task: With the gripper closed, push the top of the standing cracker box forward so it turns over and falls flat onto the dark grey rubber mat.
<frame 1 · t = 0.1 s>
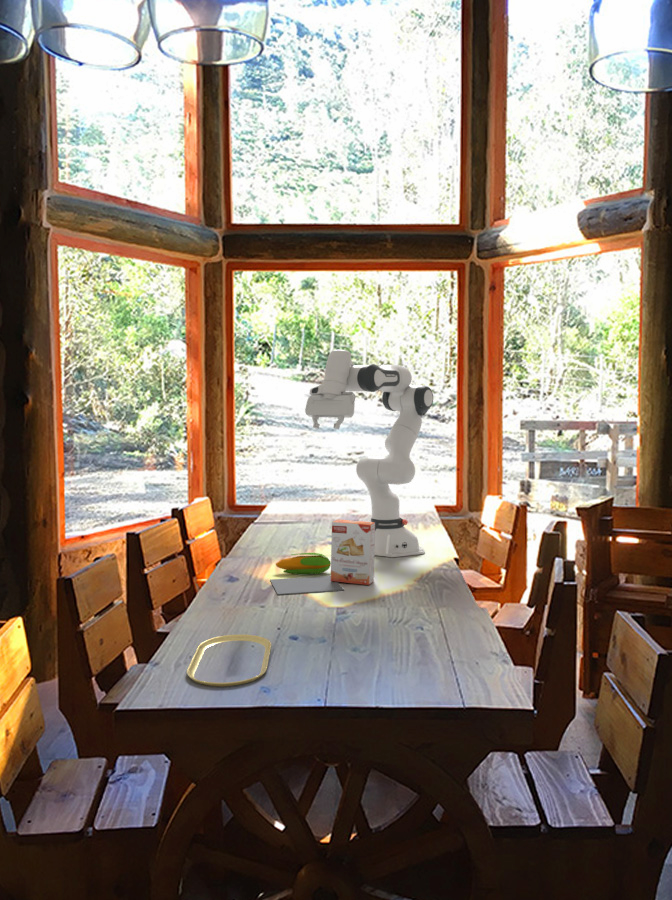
hand: (325, 428, 288), 52 cm above the table, tool tilted 20°, fingers open, 8 cm apart
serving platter: (231, 663, 197), on the table
mat: (306, 585, 270), on the table
cracker box: (352, 582, 273), on the table, touching mat
corn: (303, 574, 288), on the table
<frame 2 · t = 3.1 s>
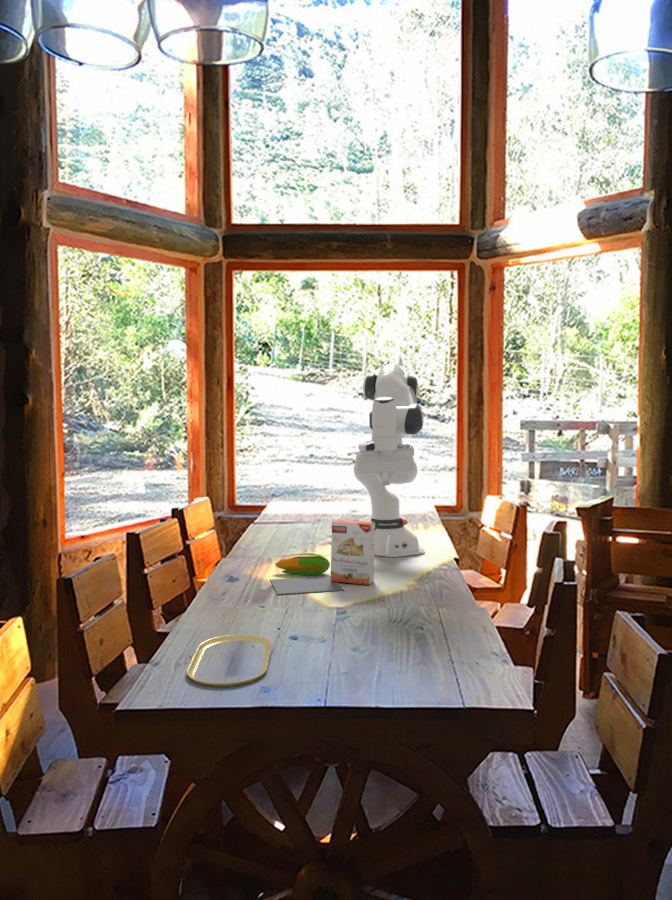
hand: (385, 485, 273), 33 cm above the table, tool pointing down, fingers closed
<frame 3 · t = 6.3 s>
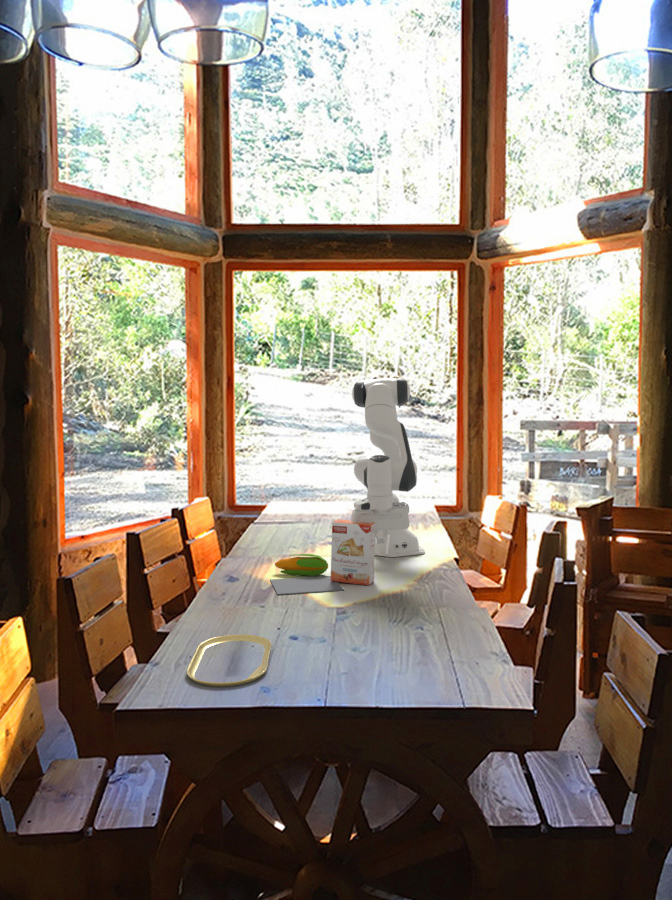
hand: (380, 543, 274), 13 cm above the table, tool pointing down, fingers closed
corn: (300, 575, 286), on the table
everything else where it was.
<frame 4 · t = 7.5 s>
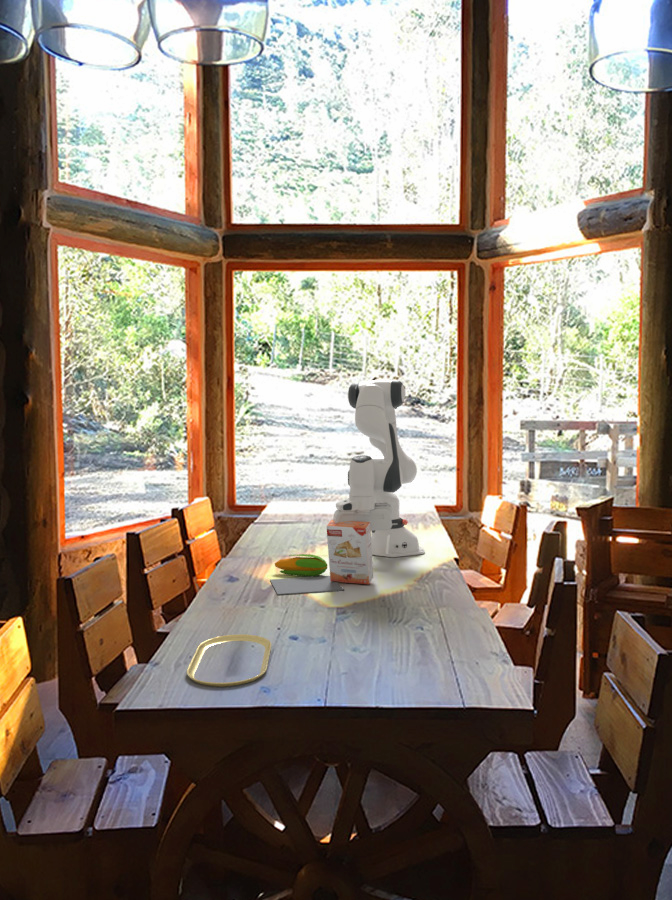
hand: (362, 543, 273), 13 cm above the table, tool pointing down, fingers closed
cracker box: (352, 580, 273), point 1 cm above the table, touching mat
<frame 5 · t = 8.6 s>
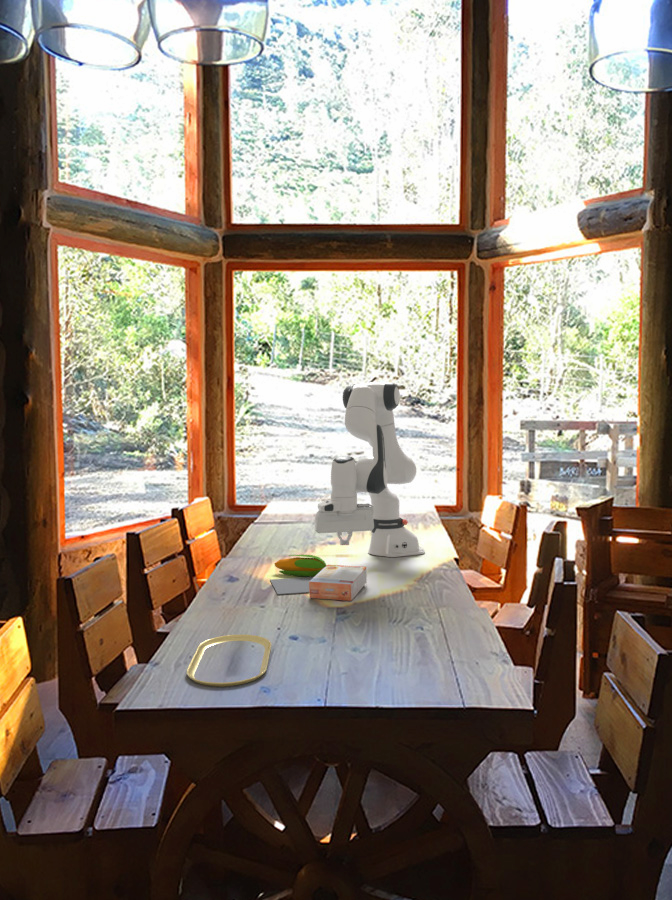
hand: (344, 544, 271), 13 cm above the table, tool pointing down, fingers closed
cracker box: (347, 573, 271), point 4 cm above the table, touching mat
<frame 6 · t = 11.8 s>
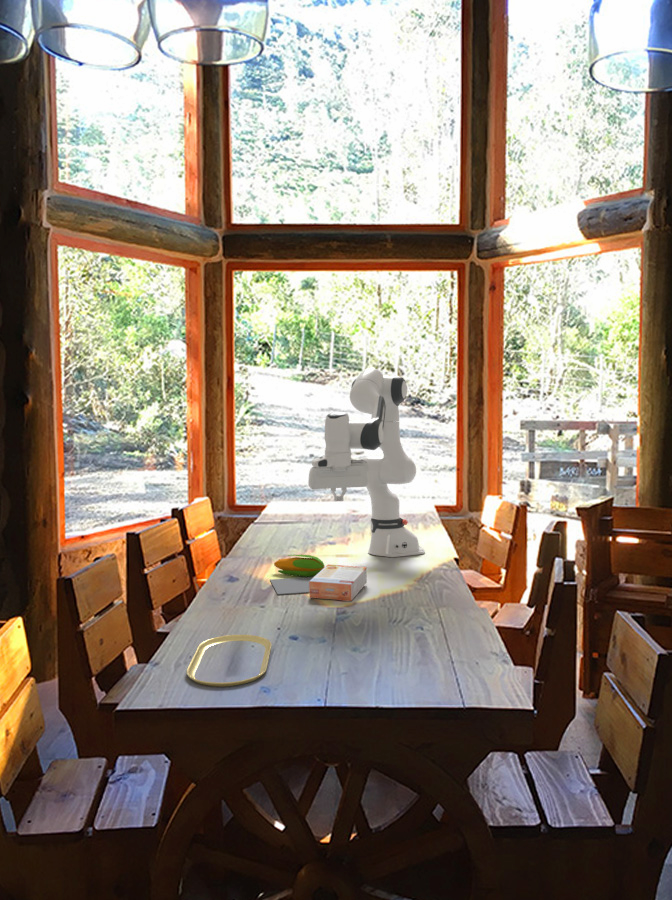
hand: (338, 501, 270), 28 cm above the table, tool pointing down, fingers closed
cracker box: (347, 573, 271), point 4 cm above the table, touching mat
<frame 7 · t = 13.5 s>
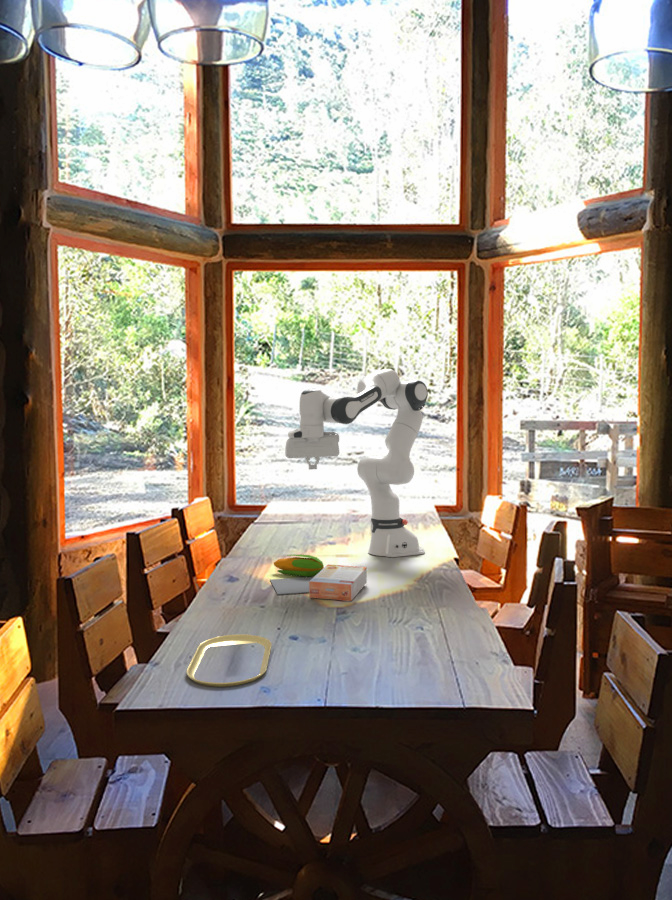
hand: (312, 469, 299), 36 cm above the table, tool pointing down, fingers closed
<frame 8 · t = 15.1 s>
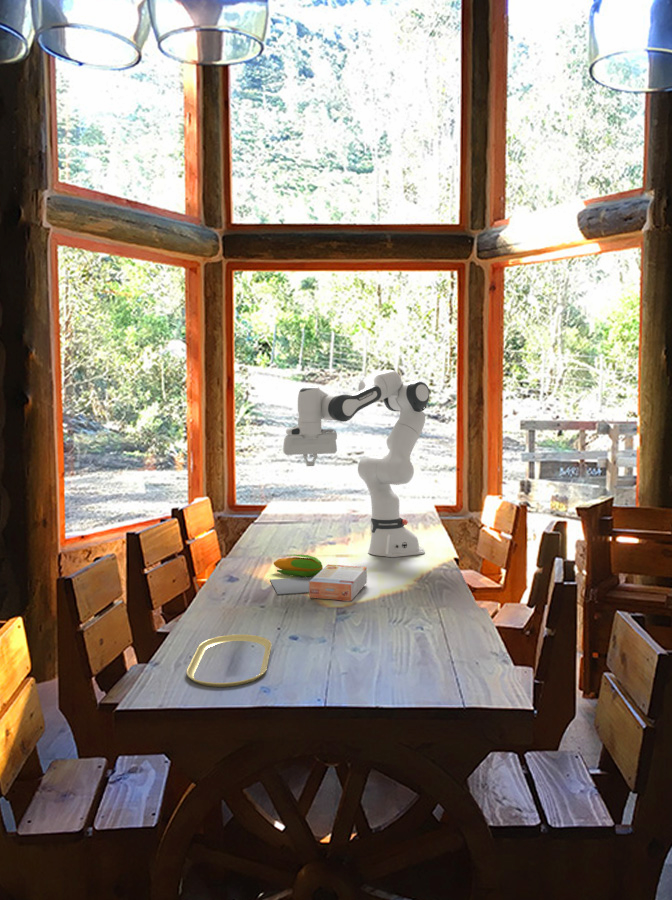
hand: (310, 466, 302), 37 cm above the table, tool pointing down, fingers closed
at the end: cracker box tilted 92°; cracker box inside the target area (4.0 cm from its centre), point 3.6 cm above the table; the gripper is holding nothing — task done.
